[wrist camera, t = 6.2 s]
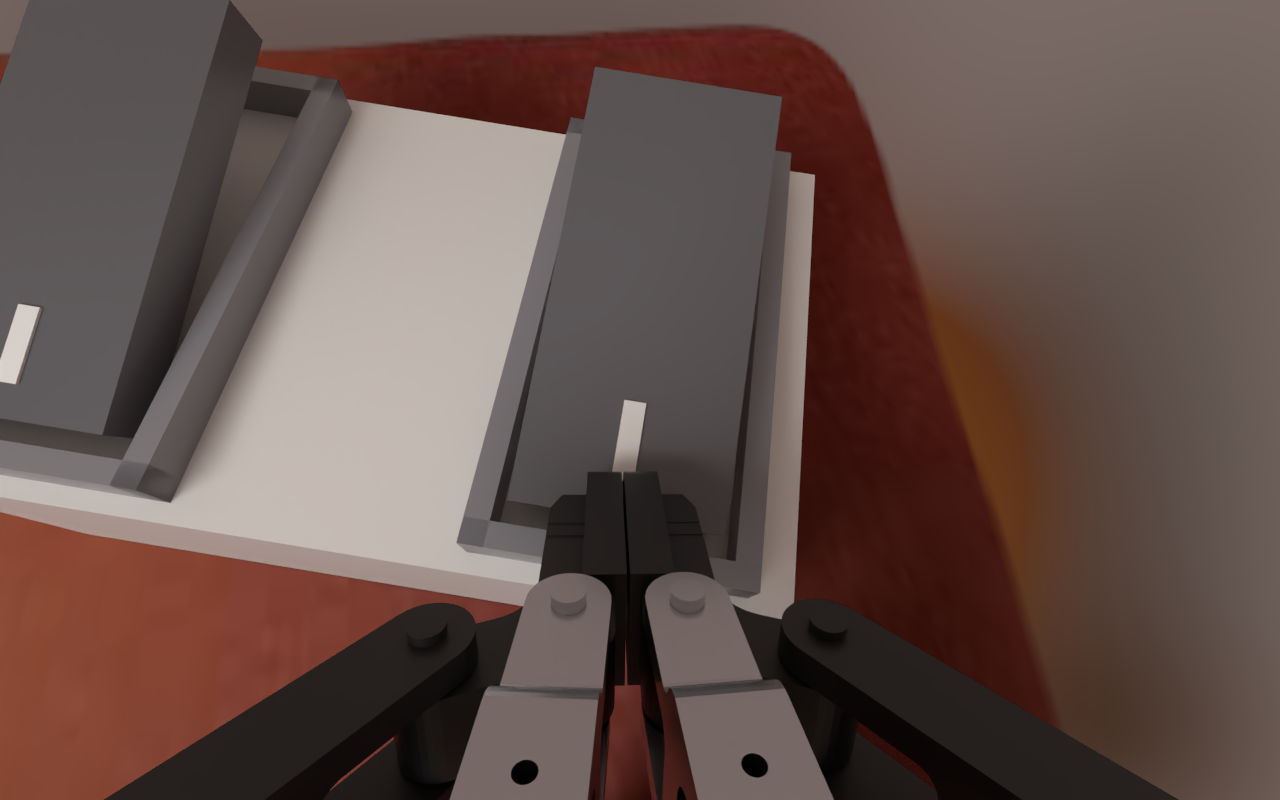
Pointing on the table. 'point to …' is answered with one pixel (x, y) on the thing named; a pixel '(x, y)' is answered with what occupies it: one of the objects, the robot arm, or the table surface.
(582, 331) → the rocker dark gray
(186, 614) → the table surface
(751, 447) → the switch box
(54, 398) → the rocker plain
